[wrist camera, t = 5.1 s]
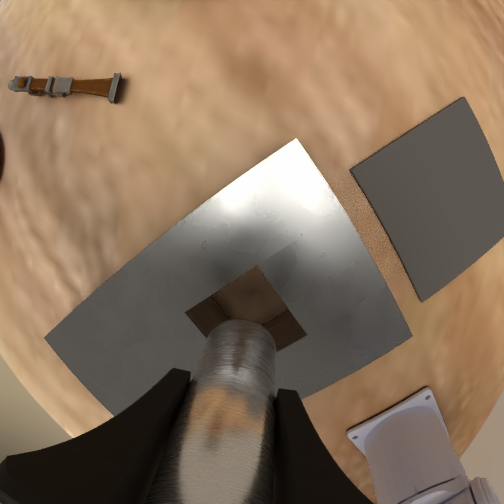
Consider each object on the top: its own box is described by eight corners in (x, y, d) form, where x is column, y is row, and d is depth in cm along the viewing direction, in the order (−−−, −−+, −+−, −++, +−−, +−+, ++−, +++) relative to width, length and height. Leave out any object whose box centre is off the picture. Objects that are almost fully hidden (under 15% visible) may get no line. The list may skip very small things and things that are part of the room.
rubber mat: (513, 223, 16) (517, 224, 16) (419, 300, 18) (421, 302, 18) (461, 97, 14) (464, 96, 14) (349, 170, 17) (350, 169, 16)
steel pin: (288, 361, 13) (291, 581, 3) (228, 384, 13) (185, 579, 4) (254, 307, 12) (214, 554, 3) (192, 335, 13) (100, 539, 3)
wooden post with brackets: (29, 80, 15) (7, 69, 11) (124, 85, 18) (120, 71, 14) (24, 103, 16) (0, 96, 12) (119, 108, 19) (113, 100, 15)
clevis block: (390, 306, 19) (412, 336, 15) (169, 419, 23) (156, 452, 19) (291, 144, 16) (296, 138, 13) (72, 313, 21) (43, 337, 17)
